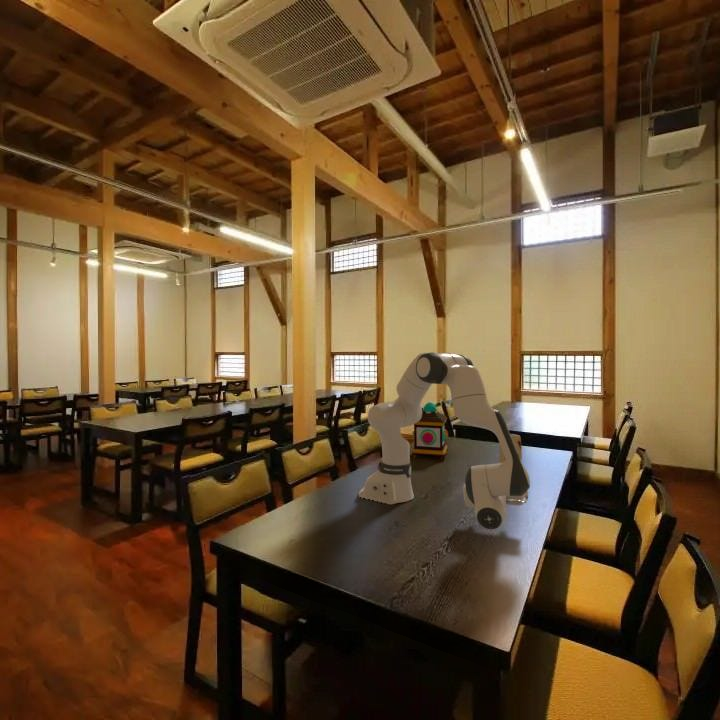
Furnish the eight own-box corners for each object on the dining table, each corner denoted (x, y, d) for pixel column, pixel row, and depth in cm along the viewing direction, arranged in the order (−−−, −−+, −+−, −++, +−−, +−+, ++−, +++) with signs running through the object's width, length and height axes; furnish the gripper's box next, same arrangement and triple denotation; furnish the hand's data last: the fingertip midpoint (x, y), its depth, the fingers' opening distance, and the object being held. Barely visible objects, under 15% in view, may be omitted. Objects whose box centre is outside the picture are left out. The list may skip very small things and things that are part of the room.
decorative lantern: (415, 450, 237) (415, 399, 236) (450, 452, 231) (450, 400, 230) (409, 459, 218) (408, 404, 217) (446, 462, 212) (446, 405, 211)
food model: (498, 476, 188) (498, 433, 187) (500, 472, 194) (500, 431, 193) (521, 479, 184) (521, 435, 183) (522, 475, 190) (522, 432, 189)
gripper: (526, 493, 128) (525, 480, 141) (460, 487, 136) (465, 475, 149) (526, 513, 129) (525, 498, 141) (460, 505, 136) (465, 492, 149)
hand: (494, 486), depth 145 cm, fingers open, 8 cm apart
